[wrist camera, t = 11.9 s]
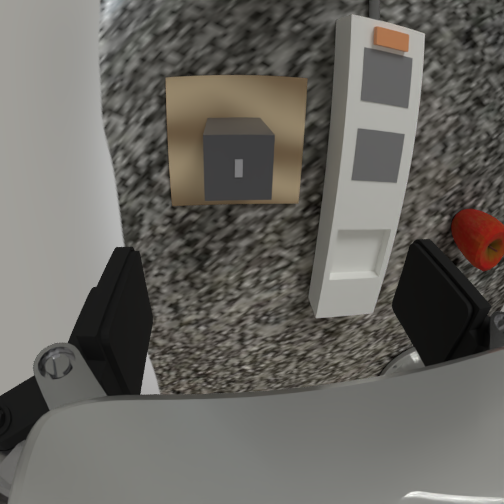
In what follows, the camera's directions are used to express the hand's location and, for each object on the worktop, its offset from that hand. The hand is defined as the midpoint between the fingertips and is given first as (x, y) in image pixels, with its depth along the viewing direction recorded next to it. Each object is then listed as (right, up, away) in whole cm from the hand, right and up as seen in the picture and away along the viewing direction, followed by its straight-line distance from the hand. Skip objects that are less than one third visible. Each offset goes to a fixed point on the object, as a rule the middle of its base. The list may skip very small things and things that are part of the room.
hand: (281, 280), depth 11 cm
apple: (+25, +5, +24) cm, 35 cm away
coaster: (-2, +11, +17) cm, 20 cm away
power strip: (+10, +12, +18) cm, 23 cm away
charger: (-3, +11, +17) cm, 20 cm away
